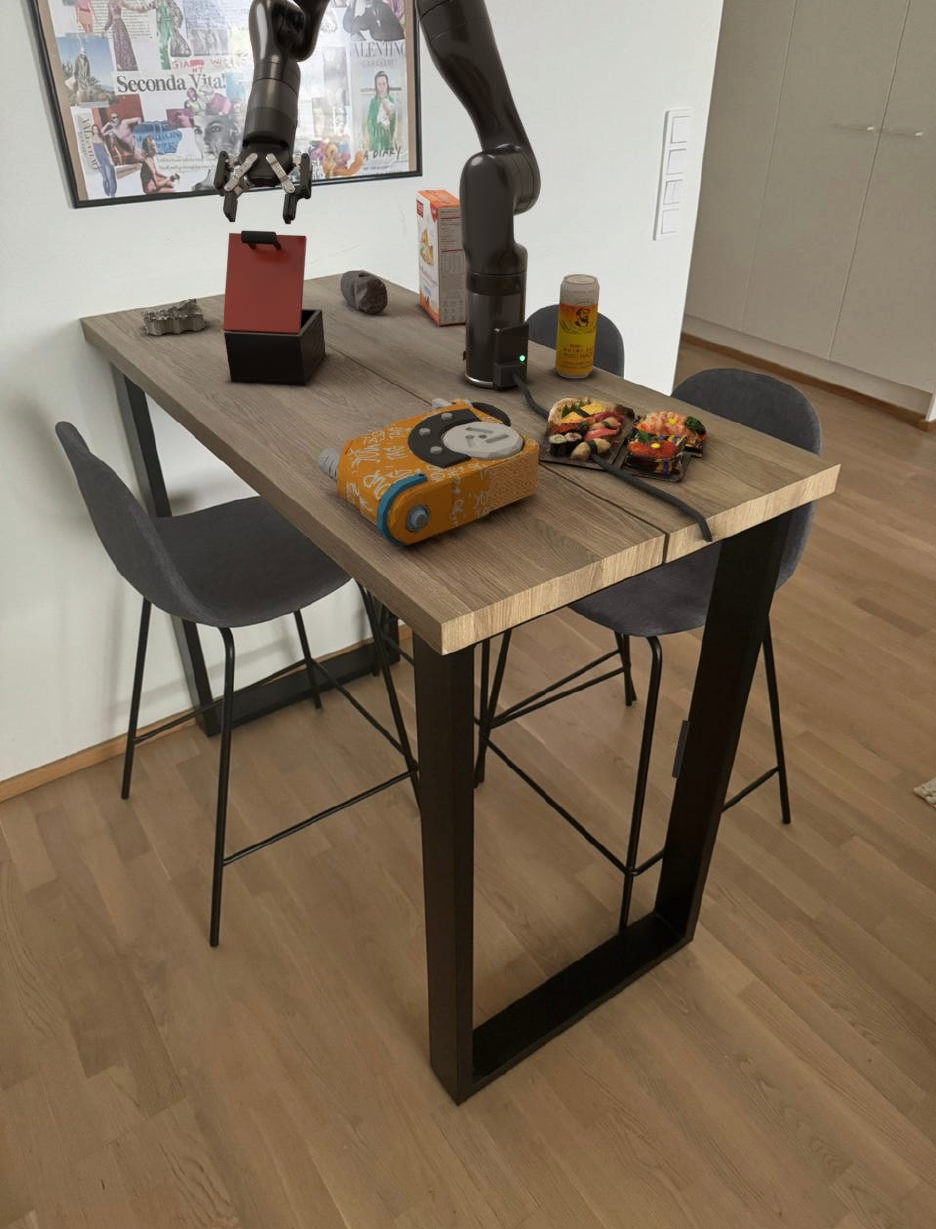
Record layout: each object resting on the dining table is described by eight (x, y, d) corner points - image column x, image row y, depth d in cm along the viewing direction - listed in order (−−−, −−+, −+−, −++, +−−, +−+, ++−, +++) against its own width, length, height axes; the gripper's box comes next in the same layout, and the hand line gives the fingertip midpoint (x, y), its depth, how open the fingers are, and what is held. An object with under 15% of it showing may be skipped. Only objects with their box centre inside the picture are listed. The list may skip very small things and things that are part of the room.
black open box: (257, 352, 153) (251, 306, 149) (325, 355, 152) (322, 309, 148) (230, 382, 142) (223, 333, 138) (304, 385, 141) (299, 336, 137)
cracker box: (417, 305, 176) (414, 190, 164) (446, 303, 178) (446, 188, 166) (436, 327, 166) (435, 205, 153) (468, 324, 167) (468, 203, 155)
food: (526, 459, 120) (527, 434, 118) (562, 408, 134) (564, 385, 132) (691, 485, 114) (695, 460, 112) (710, 430, 128) (714, 406, 126)
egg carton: (202, 319, 168) (198, 297, 166) (207, 331, 162) (204, 308, 160) (143, 325, 165) (138, 302, 163) (146, 337, 159) (141, 314, 157)
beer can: (562, 381, 144) (569, 285, 135) (549, 368, 148) (555, 274, 140) (597, 377, 145) (606, 282, 136) (583, 365, 150) (591, 272, 141)
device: (282, 427, 108) (475, 372, 123) (290, 489, 112) (474, 429, 128) (390, 497, 93) (592, 425, 109) (394, 564, 98) (587, 486, 114)
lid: (230, 235, 138) (218, 220, 132) (306, 237, 137) (297, 222, 131) (224, 331, 138) (211, 320, 132) (300, 334, 137) (290, 323, 131)
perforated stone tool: (333, 300, 179) (330, 263, 175) (357, 296, 181) (354, 260, 177) (366, 320, 168) (364, 282, 164) (390, 316, 171) (389, 278, 167)
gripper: (216, 103, 132) (202, 203, 129) (311, 105, 131) (299, 206, 128) (233, 138, 139) (220, 233, 136) (323, 141, 138) (311, 237, 135)
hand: (258, 220), depth 132 cm, fingers open, 8 cm apart
